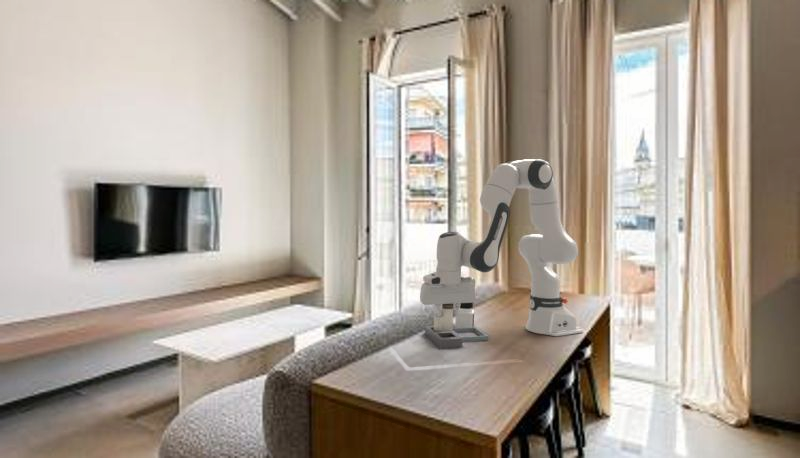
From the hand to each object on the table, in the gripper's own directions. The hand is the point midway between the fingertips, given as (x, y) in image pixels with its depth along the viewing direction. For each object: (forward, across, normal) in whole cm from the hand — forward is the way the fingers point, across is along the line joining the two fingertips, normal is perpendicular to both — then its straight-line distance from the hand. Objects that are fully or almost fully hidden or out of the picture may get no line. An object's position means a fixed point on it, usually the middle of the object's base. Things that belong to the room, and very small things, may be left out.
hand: (447, 315), depth 175 cm
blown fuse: (+5, 0, 0) cm, 5 cm away
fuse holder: (+11, 0, -4) cm, 12 cm away
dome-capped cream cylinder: (+10, 0, -8) cm, 13 cm away
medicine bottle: (+12, -16, -21) cm, 29 cm away
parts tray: (+11, -11, -7) cm, 17 cm away
